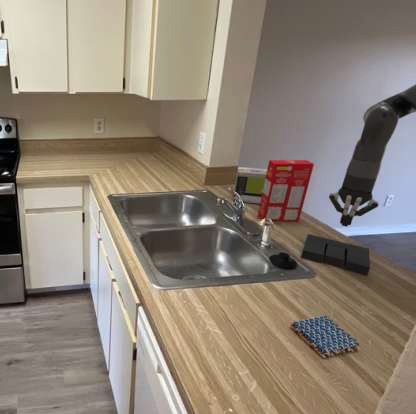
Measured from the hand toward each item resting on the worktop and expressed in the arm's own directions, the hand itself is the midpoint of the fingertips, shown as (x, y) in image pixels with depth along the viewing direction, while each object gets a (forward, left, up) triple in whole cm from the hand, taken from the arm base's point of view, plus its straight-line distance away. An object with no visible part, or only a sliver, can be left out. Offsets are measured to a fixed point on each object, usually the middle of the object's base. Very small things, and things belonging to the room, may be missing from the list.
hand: (344, 225), depth 106 cm
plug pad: (0, 0, -13) cm, 13 cm away
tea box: (+36, -40, -13) cm, 56 cm away
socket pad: (0, -2, -13) cm, 13 cm away
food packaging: (+21, -24, -13) cm, 35 cm away
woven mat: (0, +43, -13) cm, 45 cm away
